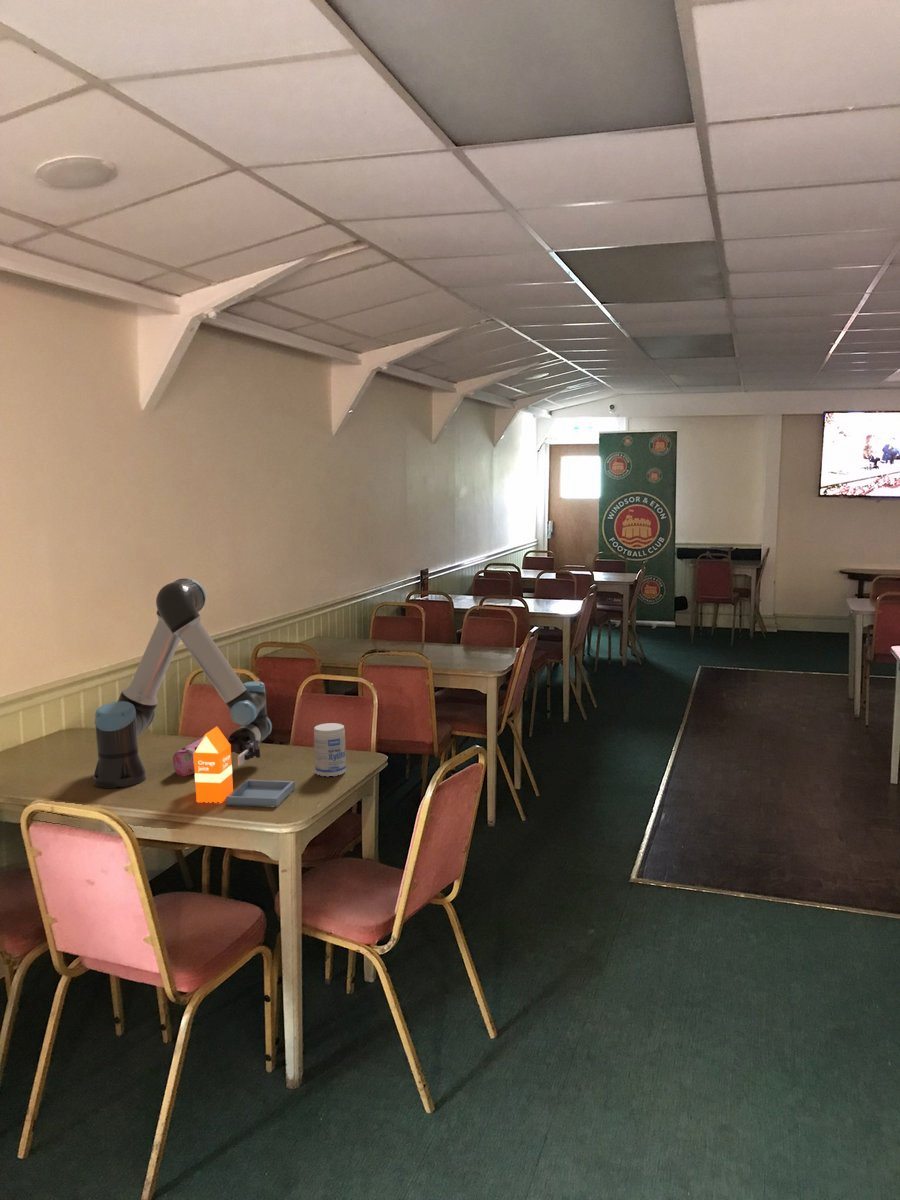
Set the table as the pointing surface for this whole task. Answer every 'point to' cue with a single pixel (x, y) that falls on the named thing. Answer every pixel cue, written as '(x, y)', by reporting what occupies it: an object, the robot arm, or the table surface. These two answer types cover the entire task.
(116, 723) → the robot arm
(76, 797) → the table surface
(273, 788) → the dish
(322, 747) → the supplement tub
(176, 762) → the pencil case
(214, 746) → the orange juice
